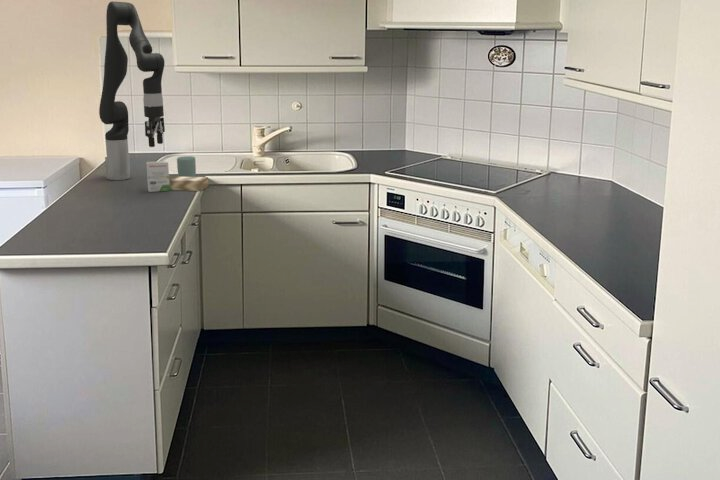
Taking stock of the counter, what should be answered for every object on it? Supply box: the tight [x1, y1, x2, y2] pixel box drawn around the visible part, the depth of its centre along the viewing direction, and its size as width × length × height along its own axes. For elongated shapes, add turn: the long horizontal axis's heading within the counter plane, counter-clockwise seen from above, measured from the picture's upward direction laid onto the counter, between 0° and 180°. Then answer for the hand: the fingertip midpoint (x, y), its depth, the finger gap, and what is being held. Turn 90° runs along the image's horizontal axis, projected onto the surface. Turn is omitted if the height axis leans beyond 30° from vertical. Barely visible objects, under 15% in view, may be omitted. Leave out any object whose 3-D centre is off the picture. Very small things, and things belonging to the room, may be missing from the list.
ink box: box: [145, 160, 171, 193], centre depth 347 cm, size 8×5×12 cm, turn 106°
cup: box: [176, 155, 197, 177], centre depth 368 cm, size 8×8×10 cm
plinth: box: [169, 176, 210, 192], centre depth 352 cm, size 13×9×4 cm
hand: (156, 145), depth 344 cm, fingers open, 8 cm apart
